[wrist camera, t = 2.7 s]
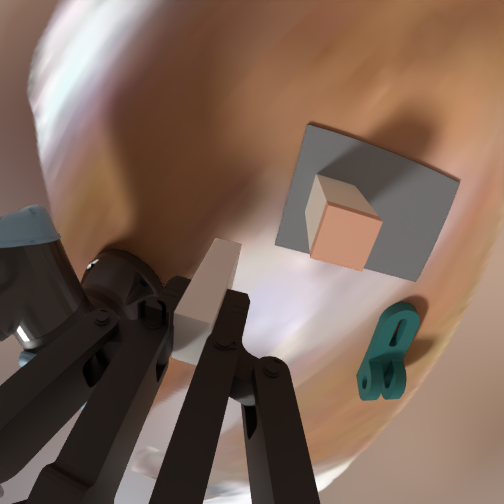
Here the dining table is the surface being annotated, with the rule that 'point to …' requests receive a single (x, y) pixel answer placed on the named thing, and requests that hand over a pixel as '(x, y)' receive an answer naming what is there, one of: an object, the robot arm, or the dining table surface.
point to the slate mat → (373, 199)
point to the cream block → (340, 223)
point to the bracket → (388, 354)
